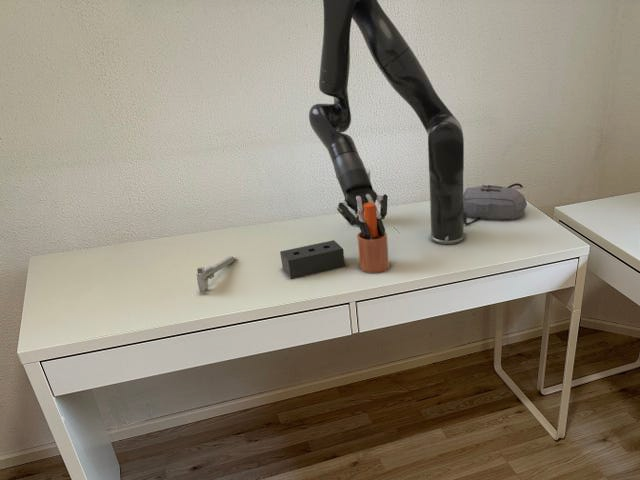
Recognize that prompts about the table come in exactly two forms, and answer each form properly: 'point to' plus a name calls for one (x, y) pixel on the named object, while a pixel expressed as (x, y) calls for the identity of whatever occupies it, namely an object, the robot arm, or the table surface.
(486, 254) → the table surface
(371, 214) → the orange screwdriver
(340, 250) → the holder
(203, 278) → the caliper
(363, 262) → the pen cup
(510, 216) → the soft grey pack
